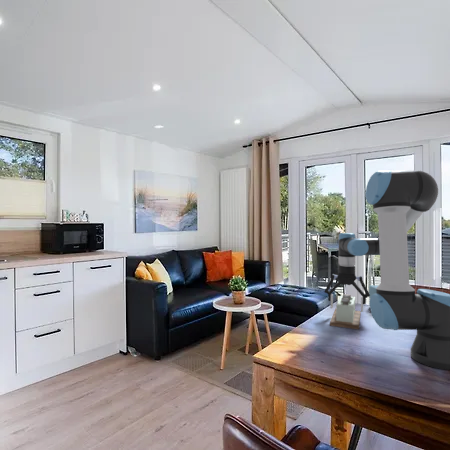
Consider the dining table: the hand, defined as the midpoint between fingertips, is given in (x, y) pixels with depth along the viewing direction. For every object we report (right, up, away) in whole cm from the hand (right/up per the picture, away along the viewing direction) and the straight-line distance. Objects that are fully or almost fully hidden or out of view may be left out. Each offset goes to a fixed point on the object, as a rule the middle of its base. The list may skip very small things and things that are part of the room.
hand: (346, 309), depth 155 cm
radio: (+24, -5, +13) cm, 28 cm away
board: (-1, -4, -2) cm, 5 cm away
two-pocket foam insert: (0, -3, 0) cm, 3 cm away
